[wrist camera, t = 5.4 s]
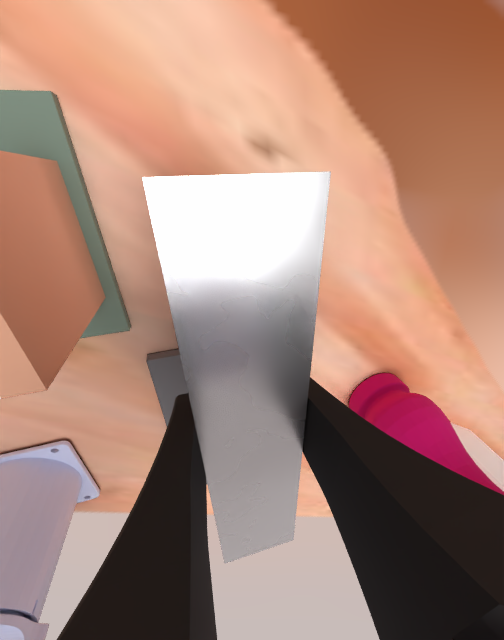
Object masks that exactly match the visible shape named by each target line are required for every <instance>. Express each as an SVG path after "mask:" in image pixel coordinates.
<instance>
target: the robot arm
mask: <svg viewBox="0 0 504 640" xmlns="http://www.w3.org/2000/svg"><path fill="white" fill-rule="evenodd" d="M302 451H303V453H304V455H305V457H306V459H307V461H308V463H309V465H310V467H311V469H312V471H313V473H314V475H315V477H316V479H317V481H318V483H319V485H320V487H321V489H322V491H323V493H324V495H325V497H326V500H327V502H328V504H329V506H330V509H331V511H332V514H333V516H334V519H335V521H336V524H337V526H338V529H339V531H340V533H341V536H342V539H343V541H344V543H345V546H346V549H347V552H348V554H349V557H350V559H351V562H352V564H353V567H354V570H355V572H356V575H357V578H358V581H359V583H360V586H361V589H362V591H363V594H364V597H365V600H366V602H367V605H368V608H369V610H370V613H371V616H372V619H373V622H374V625H375V627H376V630H377V633H378V636H379V639H380V640H504V495H503V494H500V493H498V492H496V491H494V490H492V489H490V488H487V487H485V486H483V485H481V484H479V483H477V482H475V481H472V480H470V479H468V478H466V477H464V476H462V475H460V474H458V473H456V472H454V471H452V470H450V469H448V468H446V467H444V466H443V465H441V464H439V463H437V462H435V461H433V460H431V459H429V458H427V457H425V456H424V455H422V454H420V453H418V452H416V451H415V450H413V449H411V448H409V447H408V446H406V445H404V444H403V443H401V442H399V441H398V440H396V439H394V438H393V437H391V436H389V435H388V434H386V433H385V432H383V431H381V430H380V429H378V428H377V427H375V426H374V425H372V424H371V423H369V422H368V421H367V420H365V419H364V418H362V417H361V416H359V415H358V414H357V413H355V412H354V411H352V410H351V409H350V408H348V407H347V406H346V405H344V404H343V403H342V402H340V401H339V400H338V399H337V398H335V397H334V396H333V395H331V394H330V393H329V392H328V391H326V390H325V389H324V388H323V387H321V386H320V385H319V384H318V383H316V382H315V381H314V380H313V379H312V378H310V381H309V390H308V400H307V410H306V420H305V430H304V440H303V450H302ZM99 494H100V490H99V488H98V486H97V485H96V483H95V482H94V480H93V478H92V477H91V475H90V474H89V472H88V470H87V469H86V467H85V466H84V464H83V462H82V461H81V459H80V458H79V456H78V455H77V453H76V451H75V450H74V448H73V447H72V445H71V443H70V442H68V441H59V442H54V443H50V444H46V445H41V446H37V447H32V448H28V449H24V450H19V451H15V452H10V453H6V454H2V455H0V640H45V637H46V634H47V631H48V627H49V624H42V623H38V622H39V619H40V616H41V613H42V609H43V606H44V603H45V600H46V596H47V593H48V591H49V587H50V584H51V581H52V578H53V575H54V572H55V569H56V565H57V562H58V559H59V556H60V553H61V550H62V547H63V543H64V540H65V537H66V534H67V531H68V528H69V524H70V521H71V518H72V515H73V512H74V509H75V506H76V503H80V502H83V501H87V500H90V499H94V498H97V497H98V496H99ZM57 640H217V633H216V625H215V613H214V604H213V593H212V583H211V573H210V562H209V551H208V536H207V500H206V474H205V469H204V464H203V460H202V455H201V450H200V446H199V441H198V436H197V432H196V427H195V422H194V418H193V413H192V408H191V404H190V399H189V394H188V393H186V394H181V395H178V396H177V397H176V398H175V402H174V407H173V410H172V414H171V417H170V420H169V423H168V426H167V429H166V432H165V435H164V438H163V440H162V443H161V445H160V448H159V451H158V453H157V456H156V458H155V461H154V463H153V465H152V467H151V470H150V472H149V474H148V477H147V479H146V481H145V483H144V486H143V488H142V490H141V492H140V494H139V496H138V498H137V500H136V502H135V504H134V506H133V508H132V510H131V512H130V514H129V516H128V518H127V520H126V522H125V524H124V526H123V528H122V530H121V532H120V533H119V535H118V537H117V539H116V541H115V542H114V544H113V546H112V548H111V550H110V551H109V553H108V555H107V557H106V559H105V561H104V562H103V564H102V566H101V568H100V569H99V571H98V573H97V574H96V576H95V578H94V580H93V581H92V583H91V585H90V586H89V588H88V590H87V592H86V593H85V595H84V596H83V598H82V599H81V601H80V603H79V604H78V606H77V608H76V609H75V611H74V613H73V614H72V616H71V617H70V619H69V621H68V622H67V624H66V626H65V627H64V629H63V630H62V632H61V634H60V635H59V637H58V638H57Z"/></svg>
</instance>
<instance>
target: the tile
mask: <svg viewBox="0 0 504 640" xmlns="http://www.w3.org/2000/svg"><path fill="white" fill-rule="evenodd" d="M105 298H106V297H105V294H104V291H103V289H102V286H101V283H100V280H99V277H98V274H97V272H96V269H95V266H94V263H93V260H92V258H91V255H90V252H89V249H88V246H87V244H86V241H85V238H84V235H83V232H82V230H81V227H80V224H79V221H78V218H77V216H76V213H75V210H74V207H73V204H72V202H71V199H70V196H69V193H68V190H67V188H66V185H65V182H64V179H63V176H62V174H61V171H60V168H59V165H58V162H57V161H54V160H49V159H43V158H38V157H33V156H27V155H22V154H16V153H11V152H6V151H0V399H3V398H8V397H13V396H19V395H24V394H29V393H35V392H40V391H45V390H47V389H48V388H49V386H50V384H51V383H52V381H53V380H54V378H55V377H56V375H57V373H58V372H59V370H60V369H61V367H62V366H63V364H64V362H65V361H66V359H67V358H68V356H69V354H70V353H71V351H72V350H73V348H74V347H75V345H76V343H77V342H78V340H79V339H80V337H81V336H82V334H83V332H84V331H85V329H86V328H87V326H88V325H89V323H90V321H91V320H92V318H93V317H94V315H95V314H96V312H97V310H98V309H99V307H100V306H101V304H102V303H103V301H104V299H105Z"/></svg>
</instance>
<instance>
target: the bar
mask: <svg viewBox="0 0 504 640" xmlns="http://www.w3.org/2000/svg"><path fill="white" fill-rule="evenodd" d="M330 174H331V172H301V173H269V174H237V175H205V176H173V177H142V179H143V183H144V188H145V193H146V197H147V202H148V207H149V211H150V216H151V221H152V225H153V230H154V235H155V239H156V244H157V249H158V254H159V258H160V263H161V268H162V272H163V277H164V282H165V286H166V291H167V296H168V300H169V305H170V310H171V314H172V319H173V324H174V329H175V333H176V338H177V343H178V347H179V352H180V357H181V361H182V366H183V371H184V375H185V380H186V385H187V389H188V394H189V399H190V404H191V408H192V413H193V418H194V422H195V427H196V432H197V436H198V441H199V446H200V450H201V455H202V460H203V464H204V469H205V474H206V479H207V483H208V488H209V493H210V497H211V502H212V507H213V511H214V516H215V521H216V525H217V530H218V535H219V539H220V543H221V549H222V554H223V558H224V563H228V562H231V561H234V560H237V559H239V558H242V557H245V556H248V555H251V554H254V553H257V552H260V551H263V550H265V549H268V548H271V547H274V546H277V545H280V544H283V543H286V542H289V541H292V540H293V537H294V528H295V518H296V509H297V499H298V489H299V479H300V469H301V459H302V450H303V440H304V430H305V420H306V410H307V400H308V390H309V381H310V371H311V361H312V351H313V341H314V331H315V322H316V312H317V302H318V292H319V282H320V272H321V262H322V253H323V243H324V233H325V223H326V213H327V203H328V193H329V184H330Z"/></svg>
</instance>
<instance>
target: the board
mask: <svg viewBox="0 0 504 640" xmlns="http://www.w3.org/2000/svg"><path fill="white" fill-rule="evenodd" d="M147 364H148V367H149V371H150V374H151V377H152V380H153V383H154V387H155V390H156V393H157V396H158V399H159V403H160V406H161V409H162V412H163V415H164V419H165V422H166V425H167V426H168V423H169V420H170V417H171V414H172V410H173V407H174V402H175V398H176V397H177V396H178V395H181V394H186V393H188V389H187V385H186V380H185V375H184V371H183V366H182V361H181V357H180V352H179V349H175V350H169V351H164V352H158V353H152V354H148V355H147ZM206 484H208V483H207V479H206Z"/></svg>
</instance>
